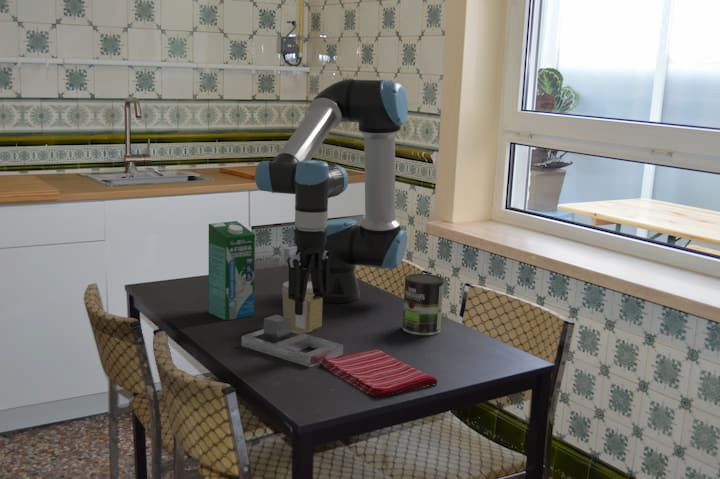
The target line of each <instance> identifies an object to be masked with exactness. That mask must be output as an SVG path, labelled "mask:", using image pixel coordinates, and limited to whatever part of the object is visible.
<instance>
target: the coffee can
mask: <svg viewBox="0 0 720 479" xmlns="http://www.w3.org/2000/svg"><path fill="white" fill-rule="evenodd" d="M444 283H445V279H444V278H443V277H442V276H439V275H434V274H429V273H411V274H407V275H406V276H404V296H403V297H404V300H403V316H402V327H401V328H402V330H403V331H404V332H406V333H408V334H411V335H415V336H416V335H417V336H434V335H437V334H440V332H441V326H442V323H441V322H442V309H443V295H444Z"/></svg>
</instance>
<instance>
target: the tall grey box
mask: <svg viewBox="0 0 720 479" xmlns="http://www.w3.org/2000/svg"><path fill="white" fill-rule="evenodd" d="M263 329H264V341H267V342H270V343H277V342H280V341H283V340H286V339H289V338H290V318H287V317H283V316H282V315H279V314H273V315H271V316H268V317H264V318H263Z"/></svg>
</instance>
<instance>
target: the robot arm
mask: <svg viewBox="0 0 720 479" xmlns="http://www.w3.org/2000/svg"><path fill="white" fill-rule="evenodd" d="M408 113H409V104H408V98H407V93H406V91H405V88H404V87H403V85H402V84H400V83H399V82H397V81H390V80H386V79H385V80H383V79H377V80H376V79H354V78H353V79H352V78H351V79H342V80H340V81H337V82H335V83H333V84H331V85H329V86H327V87H326V88H324V89H323V90H322V91H321V92H319V93H318V94H317V95H316V96H315V97H314V98H313V100H312V101H311V102H310V104H309V106H308V113H307V114H306V115H305V117H304V118H303V120H302V121H301V122H300V124H299V125H298V126H297V128H296V129H295V130H294V132H293V133H292V135H291V136H290V138H289V139H288V140H287V142H286V143H285V144H284V145H283V147H282V148H281V150H280V151H279V153H278V154H277V155H276V157H275V158H273V160H272V161H271V160H262V161H260V162H259V163H258V164H257V165H256V168H255V172H254V181H255V185H256V187H257V188H258V189H259V190H260V191H261V192H262V191H264V192H269V193H272V194H287V195H294V196H295V197H294V198H295V199H294V202H295V203H294V206H295V207H294V210H295V211H294V226H295V227H296V228H295V229H294V235H293V243H294V245H295V246H296V252H295V256H293V257H288V258H287V260H286V262H287V267H288V281H289V286H288V298H289V299H292V300H294V301H295V314H296V327H299V328H302V329H306V321H307V301H304V300H305V295H306V289H307V283H308V281H309V278H310V279H311V280H310V281H311V282H312V288H313V294H314V295H315V296H317V297H321V298H323V302H322V303H330V304H342V303H343V304H345V303H351V302H355V301H357V300H359V299H360V297H361V295H360V294H361V289H360V287H359V283H358V278H357V276H356V266H360V267H366V268H367V267H368V268H375V269H376V268H377V269H381V270H384V269H385V270H386V269H387V270H388V269H389V270H395V269H398V267H399V266H400V265H401V263H402V261H403V259H404V257H405V252H406V249H407V245H408V233H407V231H406V230H404V229H401V221H400V220H399V219H398V218H397V217H396V135H397V134H399V132H401V126H403V125H405V124H406V122H407V119H408ZM345 122H350V123H358V131H359V133H360V134H362V135H363V139H364V140H363V142H364V143H363V144H364V146H363V147H364V153H363V154H364V210H365V211H364V213H365V214H364V218H362V219H361V221H360V223H359V225H358V221H357V220H356V219H354V218H353V219H352V218H339V219H338V218H337V219H331V220H330V219H329V220H328V214H329V213H328V212H329V211H328V210H329V209H328V207H329V205H328V204H329V202H328V201H329V198H335V197H337V196H339V195H341V194H342V193H344V191H346V189H347V188H348V185H349V181H350V180H349V175H348V174H349V173H347V170H346V169H345V168H344V167H343V166H341V165H338V164H328V162H326V161H324V160H312V158H313V157H314V156H315V154H316V153H317V151H318V150H319V148H320V147H321V145H322V144H323V143H324V141H325V139H326V138H327V136H328V135H329V133H330V132H331V130H334V129H337V127H339V125H340V124H341V123H345ZM314 295H313V296H314Z"/></svg>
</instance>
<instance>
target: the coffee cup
mask: <svg viewBox="0 0 720 479" xmlns="http://www.w3.org/2000/svg"><path fill="white" fill-rule="evenodd" d="M288 286H289V280H287V281H285V282H283V283H282V286H281V290H282V291H281V292H282V293H281V294H282V311H283V312H282V313H283V314H282V315H283V317H287V318H290V330H294V331H297V332H301V333H304V334H307V333H311V332H312V331H313V330H310V331H309V330H306V329H302V328H298V327H295V301H294V300H292V299H289V298H288ZM307 294H309V295H314V294H313V288H312V281H311V280H310V281H309V280H308V283H307V289H306V295H307ZM314 296H315V295H314Z"/></svg>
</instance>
